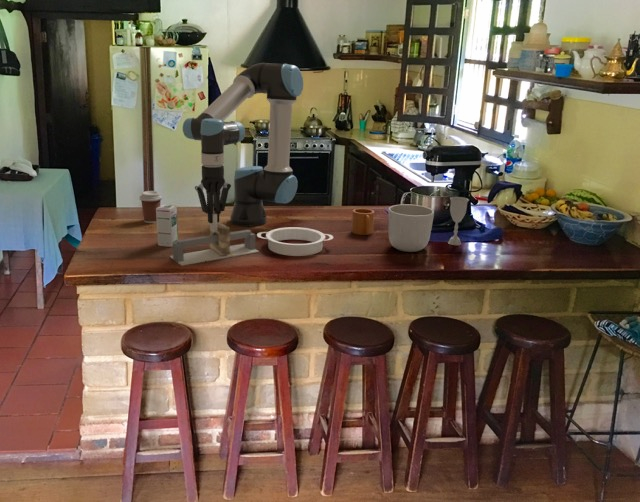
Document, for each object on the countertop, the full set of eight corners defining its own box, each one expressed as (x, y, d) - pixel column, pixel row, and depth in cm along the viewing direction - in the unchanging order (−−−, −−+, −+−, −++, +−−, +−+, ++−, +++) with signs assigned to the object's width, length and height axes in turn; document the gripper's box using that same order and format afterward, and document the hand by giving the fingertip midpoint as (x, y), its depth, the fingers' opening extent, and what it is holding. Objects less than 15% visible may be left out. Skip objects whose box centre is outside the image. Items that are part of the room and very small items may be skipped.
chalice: (465, 242, 255) (470, 198, 250) (461, 247, 249) (466, 202, 244) (447, 239, 258) (452, 195, 252) (443, 244, 252) (447, 199, 247)
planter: (439, 250, 245) (443, 211, 240) (409, 258, 234) (413, 218, 229) (406, 239, 257) (409, 202, 252) (376, 246, 246) (379, 208, 241)
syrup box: (172, 247, 236) (170, 209, 231) (157, 245, 237) (155, 207, 233) (178, 242, 241) (177, 205, 237) (163, 241, 242) (162, 203, 238)
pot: (254, 256, 231) (254, 243, 230) (258, 237, 252) (259, 226, 251) (333, 258, 232) (334, 246, 230) (331, 240, 253) (332, 228, 251)
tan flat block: (217, 246, 235) (217, 221, 232) (229, 253, 228) (229, 227, 225) (210, 247, 234) (209, 222, 231) (222, 255, 226) (221, 229, 223)
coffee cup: (161, 217, 273) (159, 189, 269) (165, 223, 265) (164, 194, 261) (138, 218, 269) (137, 190, 266) (142, 224, 262) (141, 196, 258)
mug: (353, 237, 256) (354, 215, 254) (350, 229, 268) (351, 208, 265) (375, 237, 257) (376, 215, 254) (372, 229, 268) (373, 208, 265)
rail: (245, 244, 242) (245, 226, 240) (258, 252, 234) (259, 233, 232) (170, 257, 226) (169, 237, 223) (181, 265, 218) (180, 245, 216)
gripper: (199, 168, 213) (201, 236, 221) (234, 165, 220) (235, 231, 228) (190, 164, 219) (192, 231, 226) (224, 161, 226) (225, 226, 234)
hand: (213, 231), depth 227 cm, fingers closed
